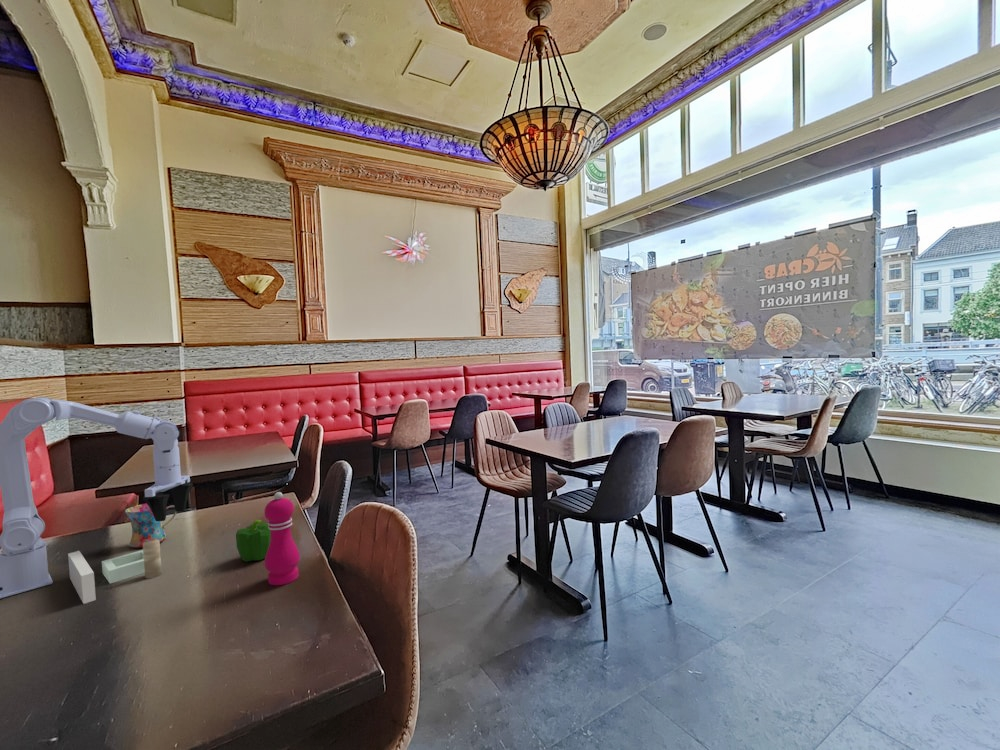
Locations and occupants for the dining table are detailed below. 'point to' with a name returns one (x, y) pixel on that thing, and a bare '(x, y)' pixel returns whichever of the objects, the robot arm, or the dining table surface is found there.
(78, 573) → the wall
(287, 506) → the pepper mill
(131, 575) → the socket block
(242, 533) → the bell pepper
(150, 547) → the dowel
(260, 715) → the dining table surface
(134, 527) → the mug
